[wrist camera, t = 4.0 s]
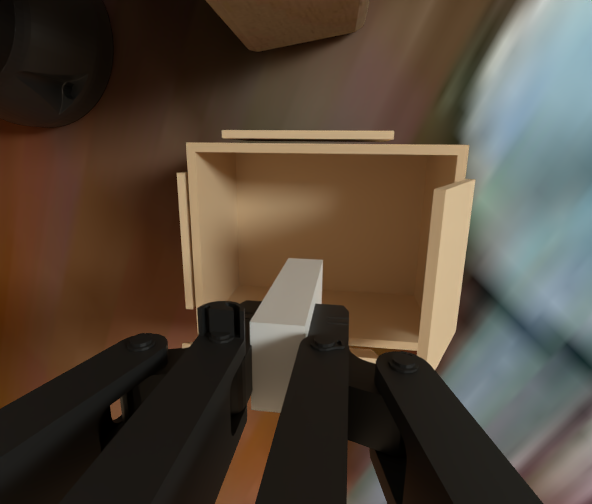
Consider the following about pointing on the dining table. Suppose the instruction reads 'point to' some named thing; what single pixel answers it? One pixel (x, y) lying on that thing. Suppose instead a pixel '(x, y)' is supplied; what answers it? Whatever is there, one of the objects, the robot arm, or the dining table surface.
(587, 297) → the dining table surface
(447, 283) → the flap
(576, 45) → the dining table surface
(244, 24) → the wooden block
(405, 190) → the carton
